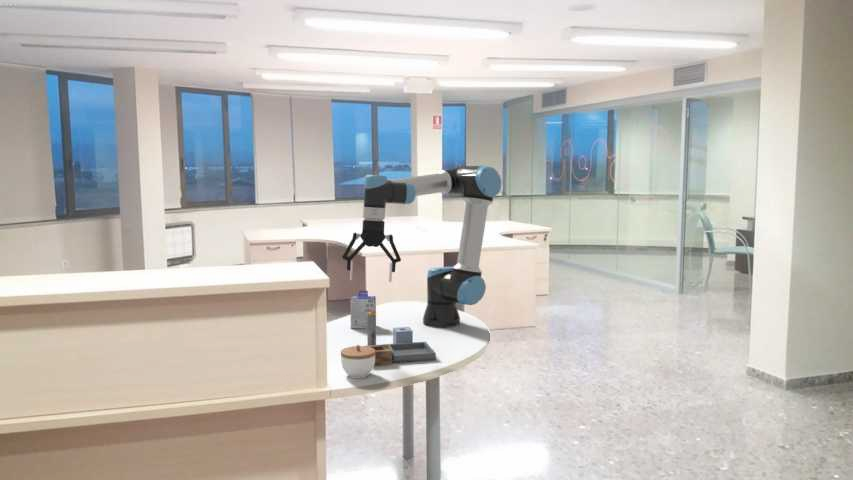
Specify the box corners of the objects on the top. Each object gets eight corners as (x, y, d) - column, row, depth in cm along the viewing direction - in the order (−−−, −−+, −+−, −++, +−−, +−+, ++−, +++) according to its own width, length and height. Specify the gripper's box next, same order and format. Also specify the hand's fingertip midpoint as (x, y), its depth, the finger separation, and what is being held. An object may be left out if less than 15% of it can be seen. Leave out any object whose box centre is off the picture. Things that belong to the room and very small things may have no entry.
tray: (425, 348, 229) (425, 341, 229) (435, 360, 216) (435, 352, 215) (386, 351, 226) (386, 344, 226) (394, 363, 212) (394, 355, 212)
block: (409, 342, 237) (409, 326, 236) (412, 347, 231) (412, 330, 231) (392, 343, 236) (392, 327, 235) (396, 348, 230) (396, 331, 229)
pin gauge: (375, 349, 228) (375, 310, 226) (377, 352, 225) (376, 312, 223) (366, 350, 227) (366, 311, 225) (368, 352, 224) (367, 313, 222)
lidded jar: (377, 369, 206) (377, 340, 205) (374, 381, 195) (373, 350, 194) (343, 369, 206) (343, 340, 205) (338, 380, 196) (338, 350, 194)
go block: (387, 357, 219) (387, 344, 218) (391, 364, 211) (391, 350, 211) (363, 358, 217) (363, 345, 217) (367, 366, 209) (367, 352, 209)
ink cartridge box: (376, 325, 262) (376, 290, 260) (375, 328, 256) (375, 292, 255) (351, 325, 262) (351, 290, 260) (350, 328, 256) (350, 292, 254)
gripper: (337, 218, 219) (334, 280, 220) (410, 222, 222) (407, 283, 224) (337, 217, 226) (334, 277, 228) (408, 221, 229) (405, 280, 231)
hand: (370, 280), depth 226 cm, fingers open, 13 cm apart
